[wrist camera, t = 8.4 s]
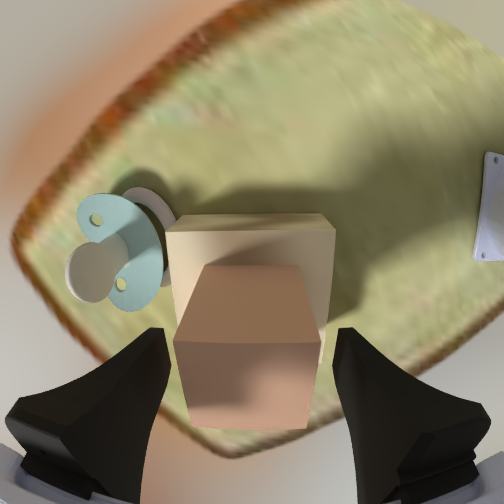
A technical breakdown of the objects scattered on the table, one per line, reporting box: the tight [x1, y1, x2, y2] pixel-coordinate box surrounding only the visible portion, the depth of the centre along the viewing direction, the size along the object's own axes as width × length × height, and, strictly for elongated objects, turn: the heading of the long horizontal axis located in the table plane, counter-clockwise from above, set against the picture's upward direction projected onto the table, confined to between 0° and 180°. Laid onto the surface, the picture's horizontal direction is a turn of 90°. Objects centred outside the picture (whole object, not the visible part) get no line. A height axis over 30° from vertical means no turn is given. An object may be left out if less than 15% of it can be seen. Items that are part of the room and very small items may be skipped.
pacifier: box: [65, 187, 176, 312], centre depth 15 cm, size 7×6×6 cm
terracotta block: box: [173, 265, 321, 430], centre depth 12 cm, size 4×4×6 cm
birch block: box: [165, 213, 336, 364], centre depth 17 cm, size 8×8×4 cm
